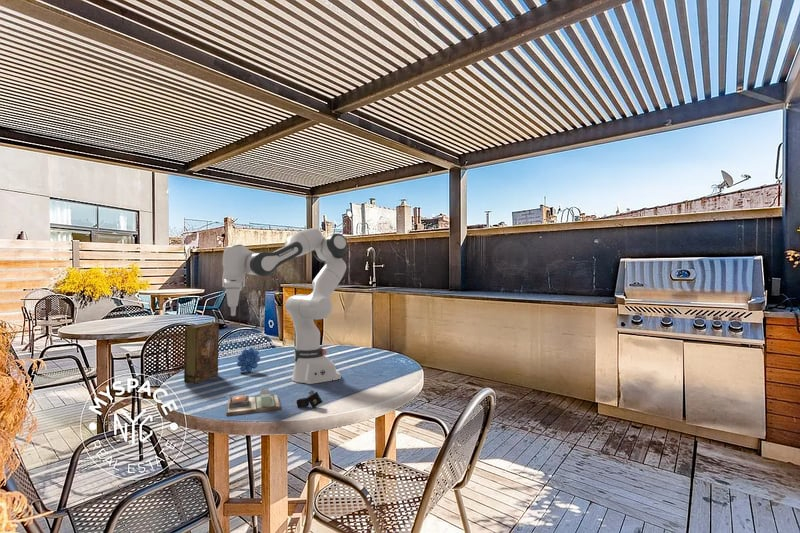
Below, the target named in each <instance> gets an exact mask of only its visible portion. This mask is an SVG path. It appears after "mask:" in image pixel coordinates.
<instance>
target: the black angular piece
mask: <svg viewBox="0 0 800 533" xmlns="http://www.w3.org/2000/svg"><path fill="white" fill-rule="evenodd" d="M308 394H309V395H307V397H304V398H299V399H297V400H295V401H296V405H297V408H301V409H302V408H303V409H304V408H306V407H307V408H308V406H309V405H311V407H312V409H314V408H315V407H317V406H319V405H321V404H322V403H323V401H324V400H322V398H321V397H320V395H319V393H318V391H314V390H310V391H309V392H308Z"/></svg>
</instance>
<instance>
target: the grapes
mask: <svg viewBox="0 0 800 533" xmlns="http://www.w3.org/2000/svg"><path fill="white" fill-rule="evenodd" d="M259 354H260V353H259V350H255V349H254V348H253V347H249V348H248V349H247V348H245V349H242V351H241V353H240V354H239V355H237V360H238V361H237V362H236V366H237V367H239V369H240V371H241V372H245V371H246V372H247V373H249V372H250V373H251V372H252V371H253V369H257V367H258V366H259V364H258V363H259V362H260V361H261V357H260V356H259Z"/></svg>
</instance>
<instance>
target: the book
mask: <svg viewBox="0 0 800 533" xmlns="http://www.w3.org/2000/svg"><path fill="white" fill-rule="evenodd" d="M219 326H220V324H219V322H217V321H216V322H215V321H211V322H210V321H209V322H205V323H198V324H192V325H188V326H185V328H184V365H183V366H184V371H183V381H184V384H189V383H190V384H195V385H196V383H198V384H199V382H201V383H203V382H205V380H206V381H207V380H210V379H212V378H215V377H218V376H219V344H220V343H219V341H220V340H219V338H220V336H219V334H220V333H219V332H220V329H219V328H220V327H219ZM202 381H203V382H202Z"/></svg>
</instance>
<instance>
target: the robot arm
mask: <svg viewBox="0 0 800 533" xmlns="http://www.w3.org/2000/svg"><path fill="white" fill-rule="evenodd" d="M347 249H348V241H347V238H346V237H345V236H344V235H343V234H341V233H333V234H330V235H329V236H327V237H324V235H323V233H322V232H321V230H320V229H318V228H315V227H314V228H313V227H312V228H306V229H303V230H300V231H297V232H295V233H293V234H291V235H289V236H288V237H287V238H286V239H285V241H284V246H282V247H280V248H278V249H277V250H275V251H272V252H270V251H269V252H268V251H262V252H254V251H252V250H250V249H248V248H247V247H246V246H245V245H243V244H232V245H228V246H226V247H225V248H224V250H223V254H222V268H223V271H222V272H223V273H222V286H221V287H222V288H224V289H225V292H226V302H227V303H226V304H227V306H228V307H229V308H230V316H232V317H235V316H236V312H237V307H238V305H239V299H240V292H241V291H243V290H242V288H244V287H246V274H248V275H252V276H261V277H268V276H270V275H272V274H273V273H274V272H276V270H277V268H279V267H280V266H281V265H282V264H285V263H287V262H289V261H291V260H293V259H294V258H298V257H301V256H304V255H306V254H309V253H312V254H313V256H314V258H315V259H316V261H318V262H320V263H324V265H323V266H322V268H321V269H320V270H319V272H318V273H317V274H316V276H315V277H314V278H313V280H312V282H311V286H312V292H311V293H310V294H301V293H299V294H294V295H291V296H289V297H288V298H287V299H286V301H285V310H286V312H287V314H288V315H289V316H290V318H291V320H292V323H293V326H294V332H295V348H294V352H293V353H294V354H293V357H294V358H293V359H294V360H293V361H294V368H293V371H292V376H291V381H292V382H295V383H302V384H303V383H304V384H307V385H312V384H319V383H326V382H331V381H332V380H333V381H338V379H339V380H341V378H342V375H341V373H340V372H339V371H337V367H336V364H335V363H334V362H333V361H332V360H331V359H330V358H328V357H327V356H326V354H327V350H326V349H324V348H323V347H321V331H320V329H319V328H318V327H317V325H316V324H315V321H314V320H323V319H328V317H330V315H331V313H332V312H333V304H332V301H331V297H332V295H333V293H334V292H335V290H336V288H337V286H338V285H339V283H340V282H341V281H342V279H343V277H344V276H345V273H346V270H347V264H346V262H345V260H344V259H343V258H345V257H346V253H347Z"/></svg>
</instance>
